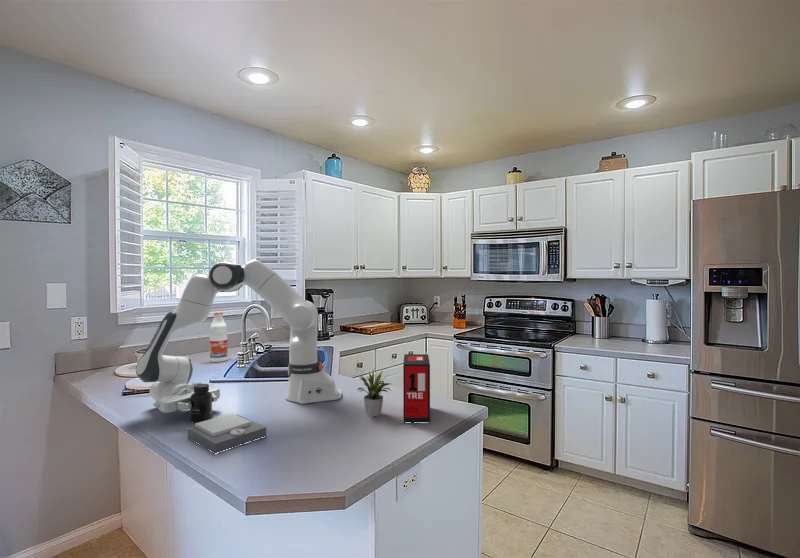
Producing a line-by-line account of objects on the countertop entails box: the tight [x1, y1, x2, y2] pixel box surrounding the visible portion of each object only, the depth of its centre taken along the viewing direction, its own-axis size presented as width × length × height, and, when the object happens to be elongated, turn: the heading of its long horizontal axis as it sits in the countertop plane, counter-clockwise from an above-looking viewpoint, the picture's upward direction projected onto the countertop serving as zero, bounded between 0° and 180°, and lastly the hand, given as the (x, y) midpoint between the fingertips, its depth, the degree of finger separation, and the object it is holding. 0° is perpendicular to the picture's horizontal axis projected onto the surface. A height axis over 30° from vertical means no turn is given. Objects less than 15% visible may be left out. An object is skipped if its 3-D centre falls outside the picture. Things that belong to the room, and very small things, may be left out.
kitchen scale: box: [187, 412, 267, 454], centre depth 126 cm, size 16×18×4 cm
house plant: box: [351, 369, 392, 417], centre depth 145 cm, size 14×14×16 cm
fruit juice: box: [209, 311, 229, 363], centre depth 236 cm, size 9×9×28 cm
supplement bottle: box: [189, 383, 213, 424], centre depth 142 cm, size 7×7×12 cm
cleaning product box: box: [402, 353, 431, 424], centre depth 146 cm, size 16×9×20 cm, turn 178°
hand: (202, 402), depth 141 cm, fingers open, 8 cm apart
